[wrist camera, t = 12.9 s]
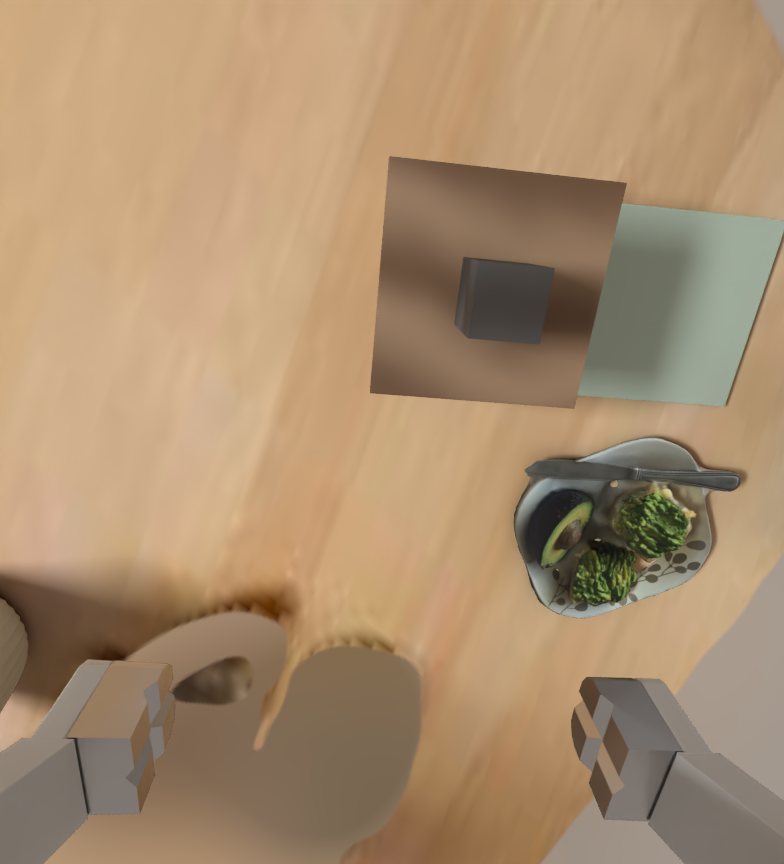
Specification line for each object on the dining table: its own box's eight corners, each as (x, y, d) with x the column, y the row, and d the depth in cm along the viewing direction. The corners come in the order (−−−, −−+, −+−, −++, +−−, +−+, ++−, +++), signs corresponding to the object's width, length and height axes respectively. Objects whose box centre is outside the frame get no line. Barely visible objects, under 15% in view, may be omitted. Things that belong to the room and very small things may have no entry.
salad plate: (714, 386, 42) (754, 404, 38) (739, 556, 48) (775, 588, 44) (490, 466, 44) (503, 492, 39) (542, 620, 50) (558, 657, 46)
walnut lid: (388, 158, 26) (393, 142, 21) (619, 184, 26) (670, 174, 22) (370, 389, 30) (371, 416, 25) (569, 404, 31) (603, 433, 26)
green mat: (595, 201, 36) (598, 200, 35) (781, 220, 37) (787, 220, 36) (554, 391, 41) (557, 393, 40) (719, 404, 42) (724, 406, 41)
